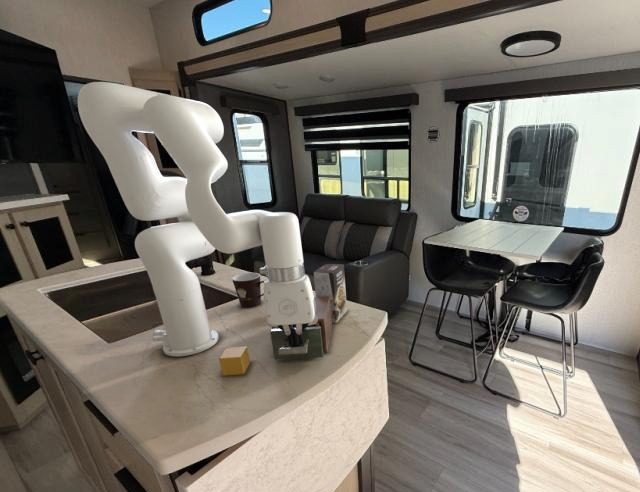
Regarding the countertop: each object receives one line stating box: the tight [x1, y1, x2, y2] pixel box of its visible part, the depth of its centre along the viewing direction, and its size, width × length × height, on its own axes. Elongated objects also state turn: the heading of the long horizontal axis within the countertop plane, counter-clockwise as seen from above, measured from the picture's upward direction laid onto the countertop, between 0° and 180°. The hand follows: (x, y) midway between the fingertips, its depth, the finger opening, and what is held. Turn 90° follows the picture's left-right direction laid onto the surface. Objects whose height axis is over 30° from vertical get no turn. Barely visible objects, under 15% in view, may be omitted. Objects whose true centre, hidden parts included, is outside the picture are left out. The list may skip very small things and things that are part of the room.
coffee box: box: [313, 263, 348, 324], centre depth 98 cm, size 9×6×16 cm
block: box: [218, 346, 251, 376], centre depth 74 cm, size 5×5×5 cm
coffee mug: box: [231, 272, 265, 309], centre depth 107 cm, size 12×9×10 cm
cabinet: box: [271, 296, 333, 354], centre depth 85 cm, size 15×13×10 cm
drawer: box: [269, 322, 324, 361], centre depth 79 cm, size 18×11×8 cm, turn 6°
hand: (296, 347), depth 74 cm, fingers closed
